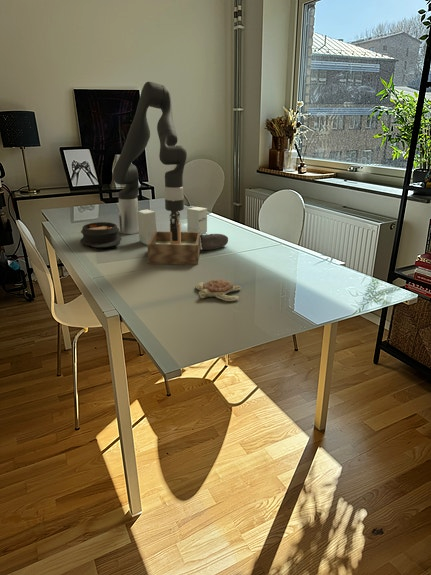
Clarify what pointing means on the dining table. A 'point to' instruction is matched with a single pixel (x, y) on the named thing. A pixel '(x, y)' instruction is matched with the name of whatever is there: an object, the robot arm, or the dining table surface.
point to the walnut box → (174, 249)
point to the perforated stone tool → (213, 241)
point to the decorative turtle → (217, 290)
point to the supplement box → (197, 220)
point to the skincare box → (146, 225)
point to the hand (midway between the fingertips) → (175, 239)
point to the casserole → (100, 234)
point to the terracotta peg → (178, 235)
